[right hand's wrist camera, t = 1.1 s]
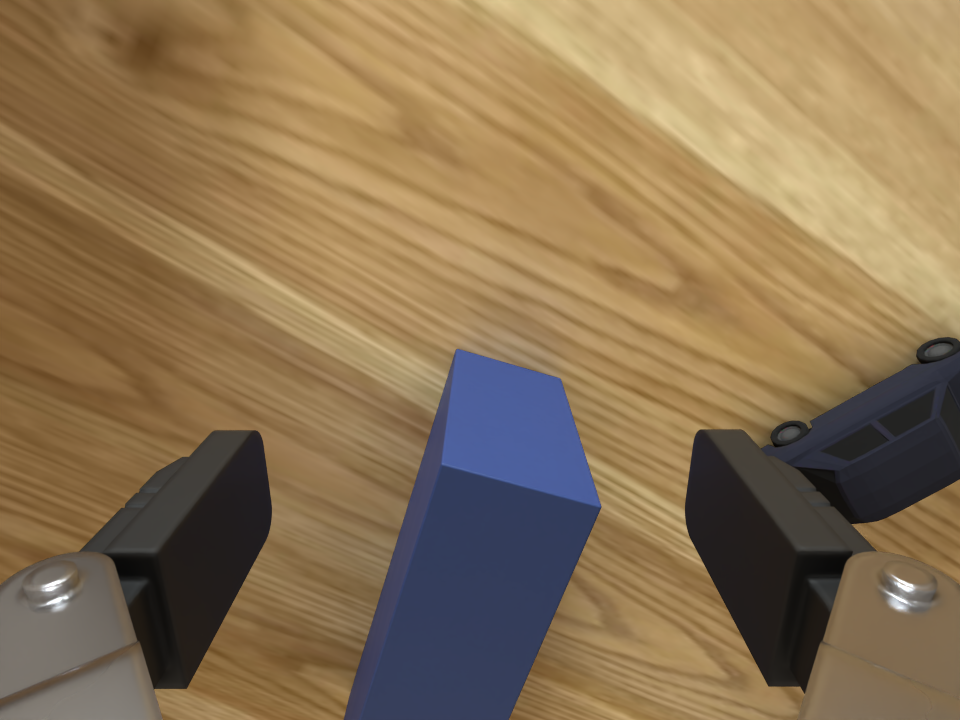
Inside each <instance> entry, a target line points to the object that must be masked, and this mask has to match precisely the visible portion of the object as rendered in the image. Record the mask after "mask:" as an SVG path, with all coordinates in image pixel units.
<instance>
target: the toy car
mask: <svg viewBox="0 0 960 720" xmlns="http://www.w3.org/2000/svg"><path fill="white" fill-rule="evenodd" d="M917 358H918V360H919V361H920V362H921V363H922V364H912V365H910V366H908V367H906V368H905V369H903V370H902V371H900V372H898V373H896V374H894V375H893V376H891V377H889V378H887V379H885V380H883V381H882V382H880V383H878V384H876V385H874V386H872V387H871V388H869V389H867V390H865V391H863V392H862V393H860V394H858V395H856V396H854V397H853V398H851V399H849V400H847V401H846V402H844V403H842V404H840V405H838V406H837V407H835V408H833V409H831V410H829V411H828V412H826V413H824V414H822V415H820V416H819V417H817V418H815V419H813V420H812V421H810V422H811V425H812V428H811V429H808V427H807V426H806V424H805V423H803V422H800V421H789V422H786V423H783V424H781V425H779V426H778V427H776V429H775V430H774V431H773V432H772V434H771V440H772V443H773V444H774V446H775V447H773V446H771V445H766V446H765V447H763V448H762V449H761V450H762V451H763V452H764V453H765V454H766V455H767V456H775V457H776V458H778V459H780V460H781V461H783V462H785V463H787V464H788V465H790V466H792V467H794V468H795V469H797V470H799V471H800V472H801V473H802V474H803V475H804V476H805V477H806V478H807V479H808V480H809V481H810V482H811V483H812V484H813V485H814V486H815V487H816V491H817V492H820V493H821V494H822V495H823V496H824V497H825V498H826V499H827V500H828V501H829V502H830V506H831V507H835V508H836V509H837V510H838V511H839V512H840V513H841V514H842V516H843V517H844V518H845V519H846V520H847V521H848V522H849V523H850V524H858V523H869V522H875V521H879V520H882V519H884V518H887V517H889V516H891V515H893V514H895V513H897V512H899V511H901V510H903V509H905V508H907V507H909V506H911V505H913V504H914V503H916V502H918V501H920V500H922V499H924V498H926V497H928V496H930V495H931V494H933V493H935V492H937V491H939V490H941V489H943V488H945V487H947V486H948V485H950V484H952V483H954V482H956V481H957V480H959V479H960V342H959V341H958V340H957V339H955V338H950V337H945V338H937V339H934V340H931V341H928V342H927V343H925V344H923V345H922V346H921V347H920V348H919V349H918V350H917Z"/></svg>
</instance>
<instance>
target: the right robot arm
mask: <svg viewBox="0 0 960 720" xmlns="http://www.w3.org/2000/svg"><path fill="white" fill-rule="evenodd" d="M271 517H272V505H271V497H270V489H269V482H268V475H267V468H266V460H265V453H264V446H263V441H262V437H261V435H260V433H259V432H258V431H256V430H216V431H213V432H212V433H211V434H210V435H209V436H208V437H207V438H206V439H205V440H204V441H203V442H202V443H201V445H200V446H199V447H198V448H197V449H196V450H195V451H194V452H193V453H192V454H191V455H190V457H182V458H180V459H178V460H177V461H175V462H173V463H171V464H170V465H168V466H166V467H164V468H163V469H161V470H159V471H157V472H156V473H155V474H154V475H153V476H152V477H151V478H150V479H149V480H148V481H147V482H146V483H145V484H144V485H143V486H142V487H141V488H140V492H139V493H136V494H135V495H134V496H133V497H132V498H131V499H130V500H129V501H128V502H127V503H126V504H125V508H121V509H120V510H119V511H118V512H117V513H116V514H115V515H114V516H113V517H112V518H111V519H110V520H109V521H108V522H107V523H106V524H105V525H104V527H103V528H102V529H101V530H100V531H99V532H98V533H97V534H96V535H95V536H94V537H93V538H92V539H91V540H90V541H89V542H88V543H87V544H86V545H85V546H84V547H83V548H82V549H81V550H80V551H79V552H73V553H67V554H62V555H58V556H54V557H51V558H48V559H45V560H42V561H40V562H37V563H35V564H33V565H31V566H28V567H26V568H25V569H23V570H21V571H19V572H17V573H16V574H14V575H13V576H11V577H10V578H8V579H7V580H6V581H4V582H3V583H2V584H1V585H0V720H163V719H162V715H161V712H160V708H159V705H158V702H157V698H156V695H155V692H154V689H187V687H188V685H189V683H190V682H191V680H192V678H193V676H194V674H195V672H196V670H197V668H198V667H199V665H200V663H201V661H202V659H203V657H204V655H205V653H206V652H207V650H208V648H209V646H210V644H211V642H212V640H213V638H214V637H215V635H216V633H217V631H218V629H219V627H220V625H221V623H222V622H223V620H224V618H225V616H226V614H227V612H228V610H229V609H230V607H231V605H232V603H233V601H234V599H235V597H236V595H237V594H238V592H239V590H240V588H241V586H242V584H243V582H244V580H245V579H246V577H247V575H248V573H249V571H250V569H251V567H252V565H253V564H254V562H255V560H256V558H257V556H258V554H259V552H260V550H261V549H262V547H263V545H264V543H265V541H266V539H267V537H268V534H269V530H270V525H271ZM685 518H686V525H687V530H688V533H689V536H690V538H691V540H692V542H693V544H694V546H695V548H696V550H697V552H698V554H699V555H700V557H701V559H702V561H703V563H704V565H705V567H706V569H707V571H708V573H709V574H710V576H711V578H712V580H713V582H714V584H715V586H716V588H717V590H718V592H719V593H720V595H721V597H722V599H723V601H724V603H725V605H726V607H727V609H728V610H729V612H730V614H731V616H732V618H733V620H734V622H735V624H736V626H737V628H738V629H739V631H740V633H741V635H742V637H743V639H744V641H745V643H746V645H747V647H748V648H749V650H750V652H751V654H752V656H753V658H754V660H755V662H756V664H757V665H758V667H759V669H760V671H761V673H762V675H763V677H764V679H765V681H766V683H767V684H768V686H800V687H801V688H802V690H803V692H804V694H805V695H804V698H803V702H802V705H801V708H800V712H799V715H798V719H797V720H960V585H959V584H958V583H957V582H956V581H954V580H953V579H952V578H950V577H949V576H947V575H946V574H944V573H943V572H941V571H939V570H937V569H935V568H934V567H932V566H929V565H927V564H925V563H923V562H920V561H918V560H915V559H912V558H909V557H906V556H902V555H898V554H893V553H887V552H877V551H876V550H875V549H874V548H873V547H872V546H871V545H870V544H869V542H868V541H867V540H866V539H865V538H864V537H863V536H862V535H861V534H860V533H859V532H858V531H857V530H856V529H855V528H854V527H853V526H852V525H851V524H850V523H849V522H848V521H847V520H846V519H845V518H844V517H843V516H842V514H841V513H840V512H839V511H838V510H837V509H836V508H835V507H831V506H830V502H829V501H828V500H827V499H826V498H825V497H824V496H823V495H822V494H821V493H820V492H817V491H816V487H815V486H814V485H813V484H812V483H811V482H810V481H809V480H808V479H807V478H806V477H805V476H804V475H803V474H802V473H801V472H800V471H799V470H797V469H795V468H794V467H792V466H790V465H788V464H787V463H785V462H783V461H781V460H780V459H778V458H776V457H775V456H767V455H766V454H765V453H764V452H763V451H762V450H761V449H760V448H759V447H758V446H757V444H756V443H755V442H754V441H753V440H752V439H751V438H750V437H749V436H748V434H747V433H746V432H745V431H743V430H699V431H698V432H697V433H696V436H695V439H694V443H693V450H692V457H691V465H690V472H689V480H688V487H687V494H686V502H685Z"/></svg>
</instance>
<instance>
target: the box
mask: <svg viewBox="0 0 960 720" xmlns="http://www.w3.org/2000/svg"><path fill="white" fill-rule="evenodd" d="M600 509H601V504H600V501H599V498H598V494H597V491H596V488H595V485H594V482H593V479H592V476H591V472H590V469H589V466H588V463H587V460H586V457H585V453H584V450H583V447H582V444H581V441H580V438H579V435H578V431H577V428H576V425H575V422H574V419H573V416H572V413H571V409H570V406H569V403H568V400H567V397H566V394H565V391H564V387H563V384H562V381H561V379H560V378H556V377H553V376H550V375H546V374H543V373H539V372H536V371H532V370H529V369H525V368H522V367H518V366H515V365H511V364H508V363H504V362H501V361H498V360H494V359H491V358H487V357H484V356H480V355H477V354H473V353H470V352H466V351H463V350H459V349H456V351H455V355H454V358H453V361H452V364H451V368H450V371H449V374H448V377H447V381H446V384H445V387H444V390H443V394H442V397H441V400H440V403H439V407H438V410H437V413H436V416H435V420H434V423H433V426H432V429H431V433H430V436H429V439H428V442H427V446H426V449H425V452H424V455H423V459H422V462H421V465H420V468H419V472H418V475H417V478H416V481H415V485H414V488H413V491H412V494H411V498H410V501H409V504H408V507H407V511H406V514H405V517H404V521H403V524H402V527H401V530H400V534H399V537H398V540H397V543H396V547H395V550H394V553H393V556H392V560H391V563H390V566H389V569H388V573H387V576H386V579H385V582H384V586H383V589H382V592H381V595H380V599H379V602H378V605H377V608H376V612H375V615H374V618H373V621H372V625H371V628H370V631H369V634H368V638H367V641H366V644H365V647H364V651H363V654H362V657H361V660H360V664H359V667H358V670H357V673H356V677H355V680H354V683H353V686H352V690H351V693H350V696H349V700H348V705H347V709H346V713H345V717H344V720H509V718H510V715H511V713H512V711H513V708H514V706H515V704H516V702H517V699H518V697H519V695H520V692H521V690H522V688H523V685H524V683H525V681H526V679H527V676H528V674H529V672H530V669H531V667H532V665H533V663H534V660H535V658H536V656H537V653H538V651H539V649H540V647H541V644H542V642H543V640H544V637H545V635H546V633H547V631H548V628H549V626H550V624H551V621H552V619H553V617H554V615H555V612H556V610H557V608H558V605H559V603H560V601H561V598H562V596H563V594H564V592H565V589H566V587H567V585H568V582H569V580H570V578H571V576H572V573H573V571H574V569H575V566H576V564H577V562H578V560H579V557H580V555H581V553H582V550H583V548H584V546H585V544H586V541H587V539H588V537H589V534H590V532H591V530H592V528H593V525H594V523H595V521H596V518H597V516H598V514H599V511H600Z"/></svg>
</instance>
